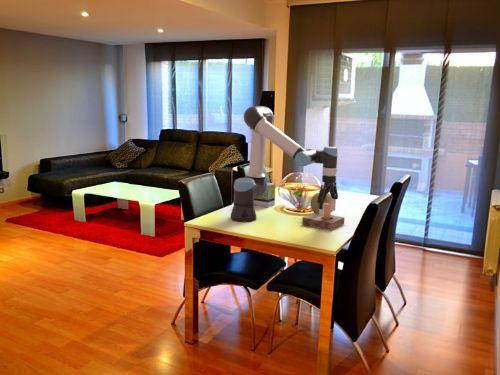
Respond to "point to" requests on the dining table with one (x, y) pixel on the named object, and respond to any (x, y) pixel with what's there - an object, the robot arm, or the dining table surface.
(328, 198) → the cantaloupe
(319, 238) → the dining table surface
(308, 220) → the socket block
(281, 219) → the dining table surface
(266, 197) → the tea box
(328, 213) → the peg
